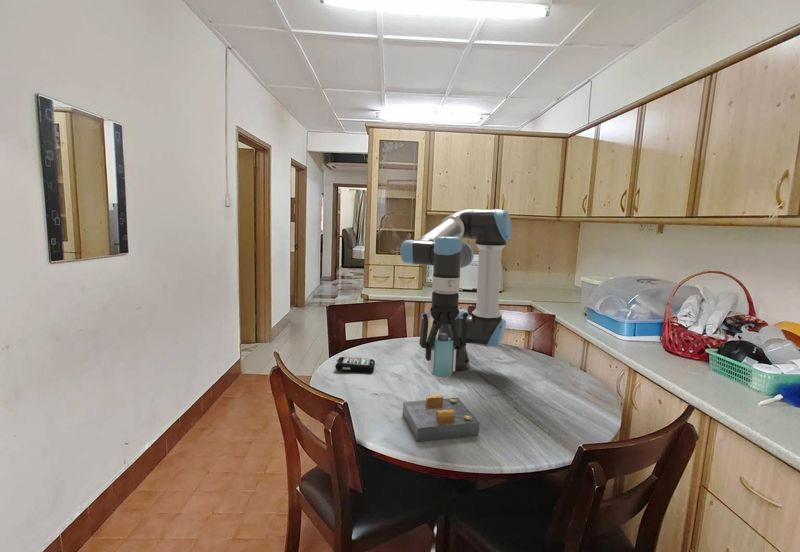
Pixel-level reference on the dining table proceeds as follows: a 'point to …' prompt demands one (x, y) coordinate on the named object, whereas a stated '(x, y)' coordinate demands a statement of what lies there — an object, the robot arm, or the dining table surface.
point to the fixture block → (439, 419)
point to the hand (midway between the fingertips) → (441, 370)
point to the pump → (443, 355)
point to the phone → (355, 364)
